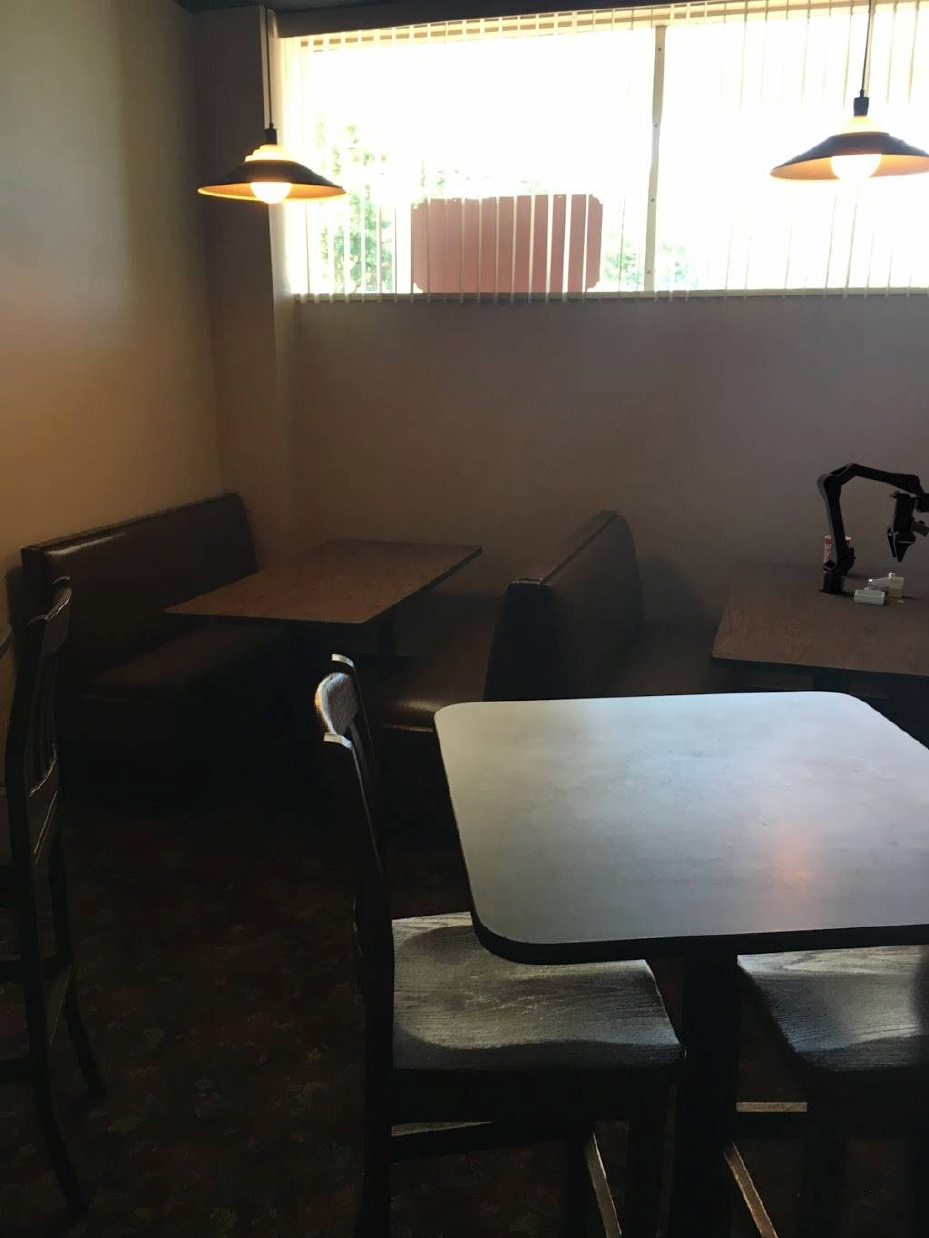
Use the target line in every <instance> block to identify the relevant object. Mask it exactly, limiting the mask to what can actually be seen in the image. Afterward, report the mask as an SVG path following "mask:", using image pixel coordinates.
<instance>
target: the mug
mask: <svg viewBox="0 0 929 1238" xmlns="http://www.w3.org/2000/svg"><path fill="white" fill-rule="evenodd" d="M845 537H846V542H847V545H850V546H851V541H852V537H849V536H845ZM831 546H832V540H831V535H826V536H824V554H823V555H824V556H823V564H824V563H826V562H827V561H828V560H829V559H830V550H831ZM822 572H823V574H825V573H826V572H825V571H822Z"/></svg>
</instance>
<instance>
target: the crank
mask: <svg viewBox="0 0 929 1238" xmlns="http://www.w3.org/2000/svg"><path fill="white" fill-rule="evenodd" d="M887 575H888V576H885V577H881V578H868V582H867V587H868V588H869V589H877V588H878V589H880V588H885V587H889V585H890V577H891V576H893V577H896V575H897V574H896V573H893V572H888V573H887Z"/></svg>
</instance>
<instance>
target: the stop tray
mask: <svg viewBox="0 0 929 1238" xmlns="http://www.w3.org/2000/svg"><path fill="white" fill-rule="evenodd" d="M854 592H855V593H854V596H853V603H859V604H867V605H877V606H883V605H884V603H885V602H884V600H885V592H884V591H880V592H877V591H867V590H864V589H855V591H854Z"/></svg>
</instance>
